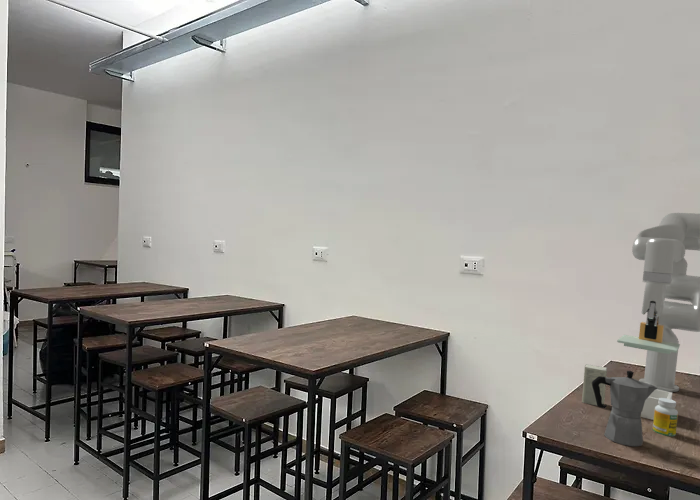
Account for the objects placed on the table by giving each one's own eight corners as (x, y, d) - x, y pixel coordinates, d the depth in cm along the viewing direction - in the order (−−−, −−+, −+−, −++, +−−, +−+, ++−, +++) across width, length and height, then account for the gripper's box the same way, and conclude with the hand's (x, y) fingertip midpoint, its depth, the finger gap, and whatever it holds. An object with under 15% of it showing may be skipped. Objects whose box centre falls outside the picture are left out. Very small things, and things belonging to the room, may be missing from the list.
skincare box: (604, 406, 156) (608, 367, 156) (603, 410, 152) (607, 370, 152) (582, 401, 159) (585, 363, 159) (580, 404, 155) (584, 366, 155)
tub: (618, 402, 160) (620, 381, 160) (670, 415, 152) (672, 392, 152) (612, 412, 151) (614, 389, 151) (666, 425, 142) (669, 401, 142)
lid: (623, 339, 160) (625, 319, 160) (679, 349, 152) (681, 327, 151) (616, 345, 150) (619, 323, 150) (676, 356, 141) (678, 333, 141)
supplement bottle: (658, 429, 139) (661, 395, 139) (679, 437, 135) (683, 402, 134) (648, 432, 136) (652, 398, 136) (669, 440, 132) (673, 404, 131)
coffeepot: (644, 436, 133) (651, 369, 132) (658, 451, 124) (666, 379, 123) (582, 427, 136) (589, 362, 136) (591, 440, 127) (598, 371, 126)
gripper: (646, 276, 162) (640, 332, 163) (639, 278, 149) (633, 338, 150) (673, 279, 158) (667, 336, 159) (669, 281, 145) (662, 344, 145)
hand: (650, 337), depth 154 cm, fingers closed on lid, 3 cm apart
